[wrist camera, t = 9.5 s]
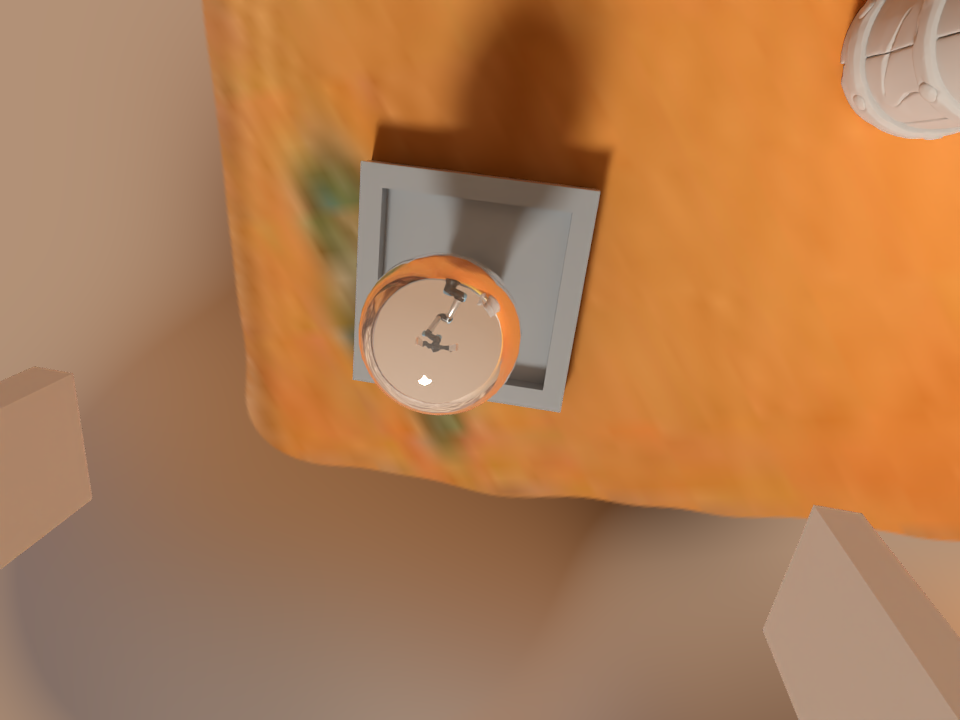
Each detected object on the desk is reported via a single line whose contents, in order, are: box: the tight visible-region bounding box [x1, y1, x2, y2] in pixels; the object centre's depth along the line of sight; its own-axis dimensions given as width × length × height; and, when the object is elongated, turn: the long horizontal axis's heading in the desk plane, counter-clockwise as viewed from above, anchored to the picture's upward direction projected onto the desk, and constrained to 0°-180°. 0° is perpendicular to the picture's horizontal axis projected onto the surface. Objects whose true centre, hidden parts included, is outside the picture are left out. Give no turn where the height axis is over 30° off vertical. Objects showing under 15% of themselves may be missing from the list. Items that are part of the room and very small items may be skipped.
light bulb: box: [359, 252, 522, 416], centre depth 27 cm, size 7×7×12 cm
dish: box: [353, 160, 600, 412], centre depth 33 cm, size 12×12×2 cm
